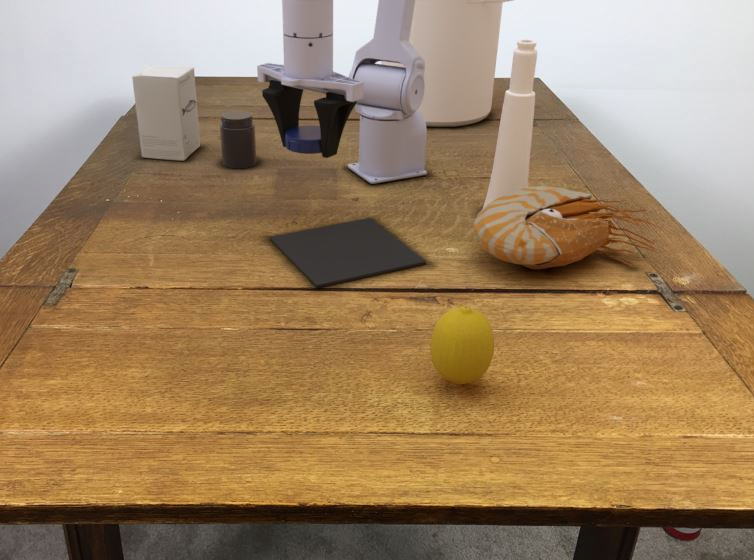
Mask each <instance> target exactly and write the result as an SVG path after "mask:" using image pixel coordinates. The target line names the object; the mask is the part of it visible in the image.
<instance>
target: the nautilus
mask: <svg viewBox="0 0 754 560" xmlns="http://www.w3.org/2000/svg"><path fill="white" fill-rule="evenodd" d="M592 197H593V193H592V194H591V193H586V192H581V191H577V190H571V189H566V188H562V187H561V188H560V187H558V186H557V187H555V186H542V185H541V186H539V185H536V186H535V185H534V186H530V187H528V188H525V189H520V190H517V191H514V192H512V193H509V194H507V195H505V196H502V197H500V198H497V199H495V200H494V201H492V202H491V203H490V204H488V205H487V206H486V207H485V208H484V209H483V208H482V209H481V210H480V211H479V212H478V213H477V215H476V217H475V219H474V221H473V230H474V233H475V235H476V236H477V238H478V241H479V243H480V247H481V249H482V250H484V251H485V252H487V254H489V255H491V256H493V257H494V258H496V259H499V260H501V261H503V262H507V263H511V264H515V265H519V266H520V265H521V266H523V267H525V268H527V269H530V270H543V269H549V268H556V267H564V266H567V265H570V264H573V263H576V262H579V261H582V260H583V259H584V258H585V257H587V256H589V255H590V254H593V253H597V254H599V253H600V254H603V255H605V256H608V257H610V258H611V259H613V260H616V261H618V262H621V263H624V264H625V265H628V266H630V267H633V265H632V264H630V263H628V262H626V261H624V260H622V259H619V258H617V257H615V256H613V255H612V254H613V253H616V254H619V255H622V256H625V257H628V258H631V259H634V257H632V256H631V255H629V254H625V253H623V252H627V253H631V254H635V252H634V251H631V250H628V249H625V248H624V249H623V248H622V249H615V248H612V247H609V246H607V245H609V244H610V243H612V244H614V243H622V244H627V245H630V246H634V247H637V248H641V249H645V250H647V251H652V252H655V253H657V250H656V248H655V247H653V246H652V245H655V242H653V241H652V240H650V239H648V238H646V237H644V236H641V235H640V234H638V233H635V232H633V231H631V230H629V229H627V228H623V227H618V226H617V227H616V226H615V224H614V223H613V221H611V220H609V219H612V218H613V219H618V220H620V221H624V222H627V223H630V224H632V225H635V226H637V227H638V228H640V229H643V228H642V225H641V224H640V223H639V222H643V223H647V224H649V225H652V226H653V227H654V226H655V227H657V228H658V229H661V227H660V226H659V225H657V224H655V223H653V222H650V221H647V220H644V219H640V218H637V217H632V216H631V215H630V214H629V213H627V212H630V213H639V212H646V211H647V209H639V210H631V209H620V208H618V207H617V206H614V205H611V204H600V203H599V202H604V203H621V202H622V203H623V202H625V201H627V199H623V200H611V201H606V200H603V199H592ZM601 210H608V211H611V212H599V211H601ZM614 212H615V213H620V214H621V213H622V214H623V215H618V214H615V213H614ZM628 219H630V220H628ZM631 220H632V221H631ZM612 230H615V231H616V232H618V230H620V231H625V232H628V233H629V234H632V235H634V236H636V237H639V238H641V239H643V240H645V241H647V242H649V243H651V244H652V245H650V244H648V243H646V242H644V241H641V240H639V239H637V238H635V237H632V236H630V235H628V234H625V233H624V234H623V233H615V232H613V231H612ZM610 236H613V237H610ZM614 236H615V237H614ZM616 236H617V237H616ZM619 237H626V238H627V239H630V240H632V241H635V242H637V243H639V244H641V245H638V244H635V243H632V242H629V241H626V240H622V238H619ZM642 245H644V246H642ZM646 246H647V247H646ZM600 249H603V250H604V251H603V250H600Z"/></svg>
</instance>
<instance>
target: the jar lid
mask: <svg viewBox="0 0 754 560" xmlns="http://www.w3.org/2000/svg"><path fill="white" fill-rule="evenodd" d="M285 146H286V147H285V148H286V150H288V151H290V152H293V153H297V154H304V155H305V154H306V155H313V154H322V152H321V131H320V125H299V126H297V127H293V128H290V129H288V130H287V131H286V132H285Z"/></svg>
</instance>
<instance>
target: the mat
mask: <svg viewBox="0 0 754 560" xmlns="http://www.w3.org/2000/svg"><path fill="white" fill-rule="evenodd" d="M269 240H270V241H271V242H272V243H273V244H274V245H275V246H276V247H277V249H279V250H280V252H281V253H283V255H284V256H285V257H286V258H287V259H288V260H289V261H290V262H291V263H292V264H293V265H294V266H295V267H296V268H297V269H298V270H299V271H300V272H301V274H302V275H303V276H305V278H306V279H308V280H309V281H310V283H311V284H312V285H313V286H314V287H315V288H316V289H320V288H325V287H329V286H333V285H337V284H342V283H346V282H351V281H356V280H361V279H365V278H370V277H373V276H374V277H375V276H378V275H383V274H388V273H393V272H397V271H401V270H406V269H410V268H415V267H418V266H424V265H427V260H426V259H424V258H423V257H422V256H420V255H419V254H418V253H417V252H415V251H414V250H412V249H411V248H410V247H409V246H407V244H405V243H404V242H402V241H401V240H400V239H398V238H397V237H396V236H394V235H393V233H390V231H388V230H387V229H385V228H384V227H383V226H382V225H380V224H379V223H377V221H375V220H374V219H373V218H371V217H367V218H361V219H357V220H352V221H351V220H350V221H346V222H340V223H335V224H330V225H325V226H320V227H315V228H314V227H313V228H309V229H304V230H298V231H293V232H287V233H283V234H276V235H271V236H269Z"/></svg>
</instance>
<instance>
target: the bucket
mask: <svg viewBox="0 0 754 560" xmlns="http://www.w3.org/2000/svg"><path fill="white" fill-rule="evenodd" d="M513 1H514V0H415V6H414V13H413V19H412V25H411V32H410V38H409V42H410V44H411V45H412V46H413V47H414V49H415V50H416V51H417V52H418V53H419V54H420V55H421V57H422V58H423V59H424V61H425V71H424V82H425V89H424V96H423V100H422V103H421V105H420V107H419V108H418V111H419V112H420V113H421V114H422V115H423V117H424V119H425V123H426V127H430V128H431V127H433V128H453V127H463V126H468V125H472V124H475V123H476V124H477V123H478V122H480V121H483V120H485V119H486V118H487V117H488V116H489V114H490V112H491V111H492V103H493V97H494V96H493V95H494V86H495V76H496V66H497V60H498V59H497V57H498V49H499V39H500V30H501V22H502V12H503V3H506V2H513ZM380 62H381V63H380V64H382V65H389V66H397V67H404V68H405V66H404V65H403V64H401V63H394V62H386V61H380Z"/></svg>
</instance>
